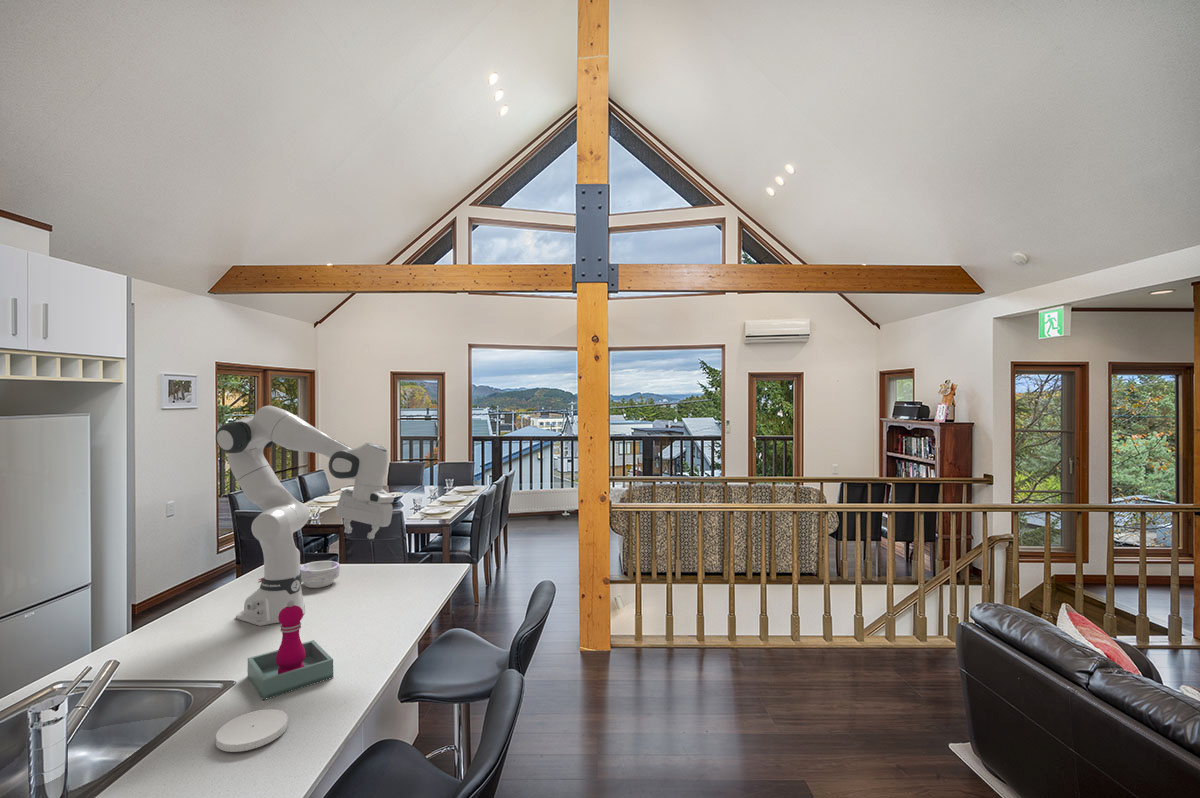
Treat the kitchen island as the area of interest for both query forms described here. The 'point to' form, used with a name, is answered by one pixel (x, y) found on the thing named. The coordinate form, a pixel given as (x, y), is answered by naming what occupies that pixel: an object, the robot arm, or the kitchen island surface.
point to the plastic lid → (251, 730)
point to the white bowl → (319, 573)
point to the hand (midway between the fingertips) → (359, 535)
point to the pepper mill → (290, 639)
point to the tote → (273, 684)
